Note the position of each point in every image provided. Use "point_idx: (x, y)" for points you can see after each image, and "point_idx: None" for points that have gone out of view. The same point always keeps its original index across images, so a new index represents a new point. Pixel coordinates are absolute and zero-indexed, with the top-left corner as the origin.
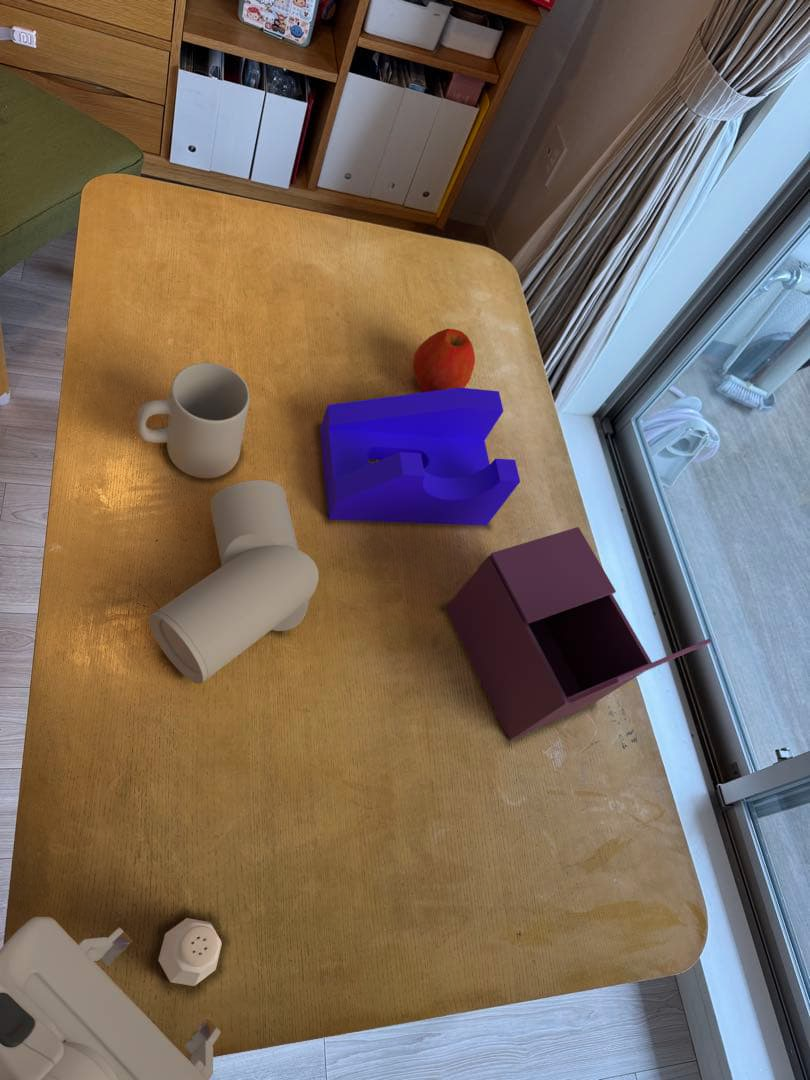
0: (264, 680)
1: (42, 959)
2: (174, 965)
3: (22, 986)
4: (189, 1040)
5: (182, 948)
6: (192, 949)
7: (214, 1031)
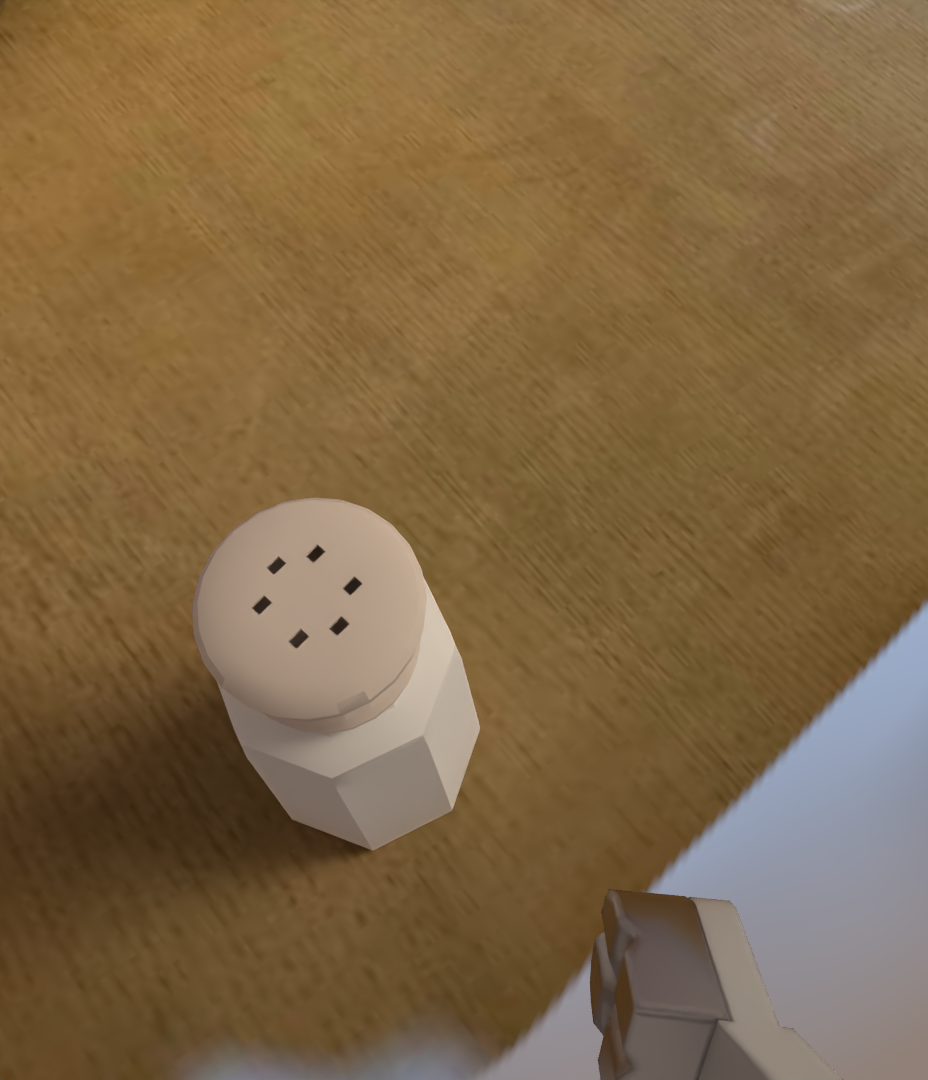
0: (115, 80)
1: None
2: (306, 788)
3: None
4: (616, 1077)
5: (221, 664)
6: (281, 633)
7: (707, 928)
